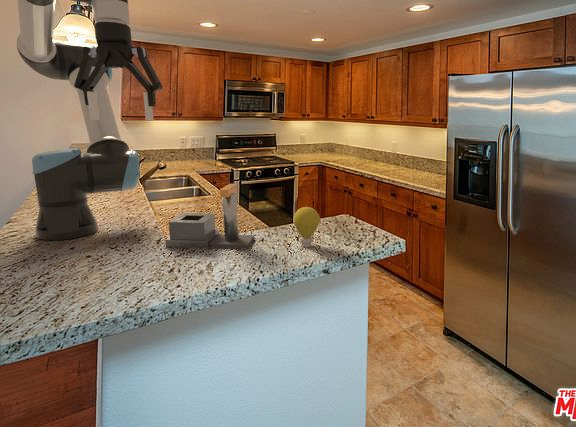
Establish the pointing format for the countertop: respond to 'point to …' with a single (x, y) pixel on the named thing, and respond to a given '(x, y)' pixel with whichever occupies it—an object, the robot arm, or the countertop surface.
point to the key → (230, 212)
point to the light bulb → (306, 224)
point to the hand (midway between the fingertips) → (122, 120)
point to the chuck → (192, 231)
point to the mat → (232, 242)
